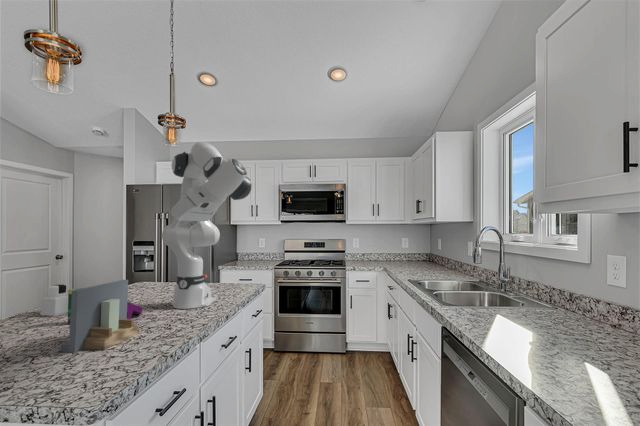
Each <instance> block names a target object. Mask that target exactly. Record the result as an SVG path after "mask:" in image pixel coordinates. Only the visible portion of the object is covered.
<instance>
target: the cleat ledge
mask: <svg viewBox="0 0 640 426" xmlns="http://www.w3.org/2000/svg"><path fill="white" fill-rule="evenodd" d="M134 322H135V320H134V319H133V318H131V319H119V325H118V330H116V331H113V332H112V328H101V327H93V328H91V333H90V336H89V337H87V338H84V349H86V350H90V349H91V350H99V349H100V350H101V351H105V350H107V349H109V348H111V347H113V345H114V346H115V344H116V345H118V344H119V343H122V342H124V341H125V340H128V339H131V338H132V336H133V337H135V336H137V335H139V334H138V333H139V325H138V324H135V323H134Z"/></svg>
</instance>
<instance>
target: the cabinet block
mask: <svg viewBox="0 0 640 426" xmlns="http://www.w3.org/2000/svg"><path fill="white" fill-rule="evenodd" d="M119 301H120V299H109V300H105V301H102V304H101V326H100V327H101V328H112V332H113V331H116V330H118V325H119Z"/></svg>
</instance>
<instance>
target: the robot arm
mask: <svg viewBox="0 0 640 426" xmlns="http://www.w3.org/2000/svg"><path fill="white" fill-rule="evenodd" d="M171 169H172V173H173V174H174V175H175V177H180V178H182V182H181V186H180V187H181V188H180V199H179V200H178V202H176V203H175V205H173V207H172V208H171V210H170V215H171V216H172V217H173V219H172V222H171V223H170V224H168V225H166V226H164V228H163V230H162V232H161V239H162V241H163V243H164V245H166V246H168V248H170V249H171V250H172V251H173V253H174V255H175V257H176V261H177V276H176V278H175V279H176V280H175V281H176V286H175V287H174V291H173V298H172V299H173V300H172V301H171V302H170V305H171V306H172V307H173V308H174V309H180V310H181V309H183V310H188V309H197V308H203V307H205V308H206V307H209V306H210V305H211V304H213V302H216V300H217V297H215V296H212V288H211V287H210V286H209V285H208V284H207V283H205V280H206V279H207V277H208V274H203V272H204V260H203V258H202V257H201V256H200V255H199V254H196V253H194V252H192V250H191V249H190V248H191V247H210V246H214V245H216V244H217V243H218V242H219V240H220V238H221V232H220V230H219V228H218V226H216V225H215V224H214V223H213V222H212V221H211V219H212V218H213V217H214V215H215V214H216V213H217V212H218V210H219V207H220V206H222V204H223V203H224V202H225V201H226V200H227V198H228V197H230V199H232V200H233V201H236V200H237V201H239V200H243V199H245V198H247V197H248V196H249V195H250V193H251V191H252V180H251V179H250V177H247V175H248V172H247V169H246V168H245V167H244V166H243V164H241V162H240V161H238V160H237V159H234V158H229V159H225V158H223V156H222V154H221V153H220V151H219V150H218V149H217V147H215V146H214V145H212V144H211V143H209V142H206V141H198V142H196V143H194V144H193V145H192V146H191V149H190V153H187V152H186V151H183V152H182V153H178V154H176V155H174V156H173V159H172V162H171ZM184 221H185V222H187V221H188V222H187V223H181V222H184Z"/></svg>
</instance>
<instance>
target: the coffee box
mask: <svg viewBox="0 0 640 426" xmlns="http://www.w3.org/2000/svg"><path fill="white" fill-rule="evenodd" d="M78 289H82V288H73V289H72V288H71V289H68V290H67V291H68V292H67V293H68V294H67V295H68V312H67V325H69V326H70V318H71V298H72V291H73V290H78Z"/></svg>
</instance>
